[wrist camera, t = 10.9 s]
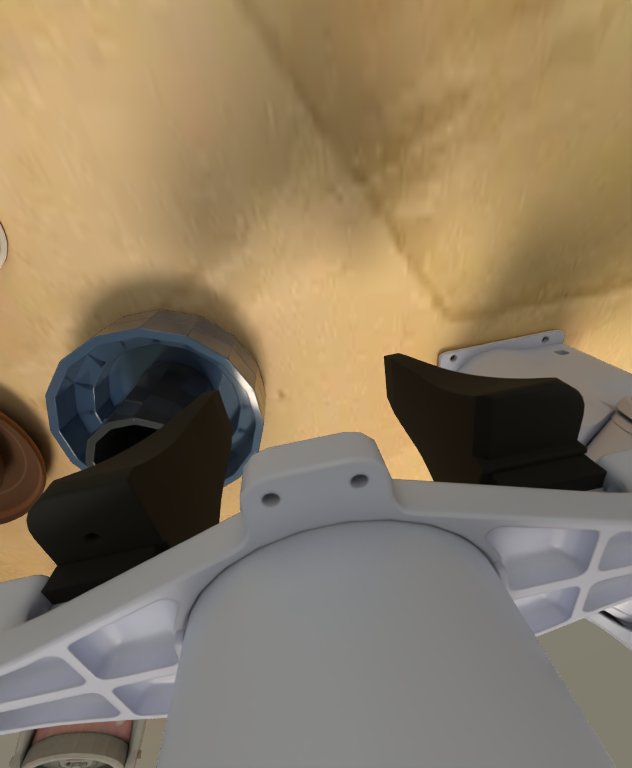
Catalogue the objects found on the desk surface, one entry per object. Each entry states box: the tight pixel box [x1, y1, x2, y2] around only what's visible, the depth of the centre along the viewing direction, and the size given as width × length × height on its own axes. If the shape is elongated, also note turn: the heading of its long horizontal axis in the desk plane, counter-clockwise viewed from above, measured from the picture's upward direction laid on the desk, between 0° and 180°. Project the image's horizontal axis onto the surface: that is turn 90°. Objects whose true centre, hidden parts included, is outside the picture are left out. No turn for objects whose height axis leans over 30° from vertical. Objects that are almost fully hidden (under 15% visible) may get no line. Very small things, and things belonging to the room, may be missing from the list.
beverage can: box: [8, 719, 149, 768], centre depth 28 cm, size 9×8×12 cm
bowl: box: [45, 309, 265, 487], centre depth 22 cm, size 12×12×4 cm
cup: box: [85, 362, 214, 467], centre depth 20 cm, size 5×5×7 cm
